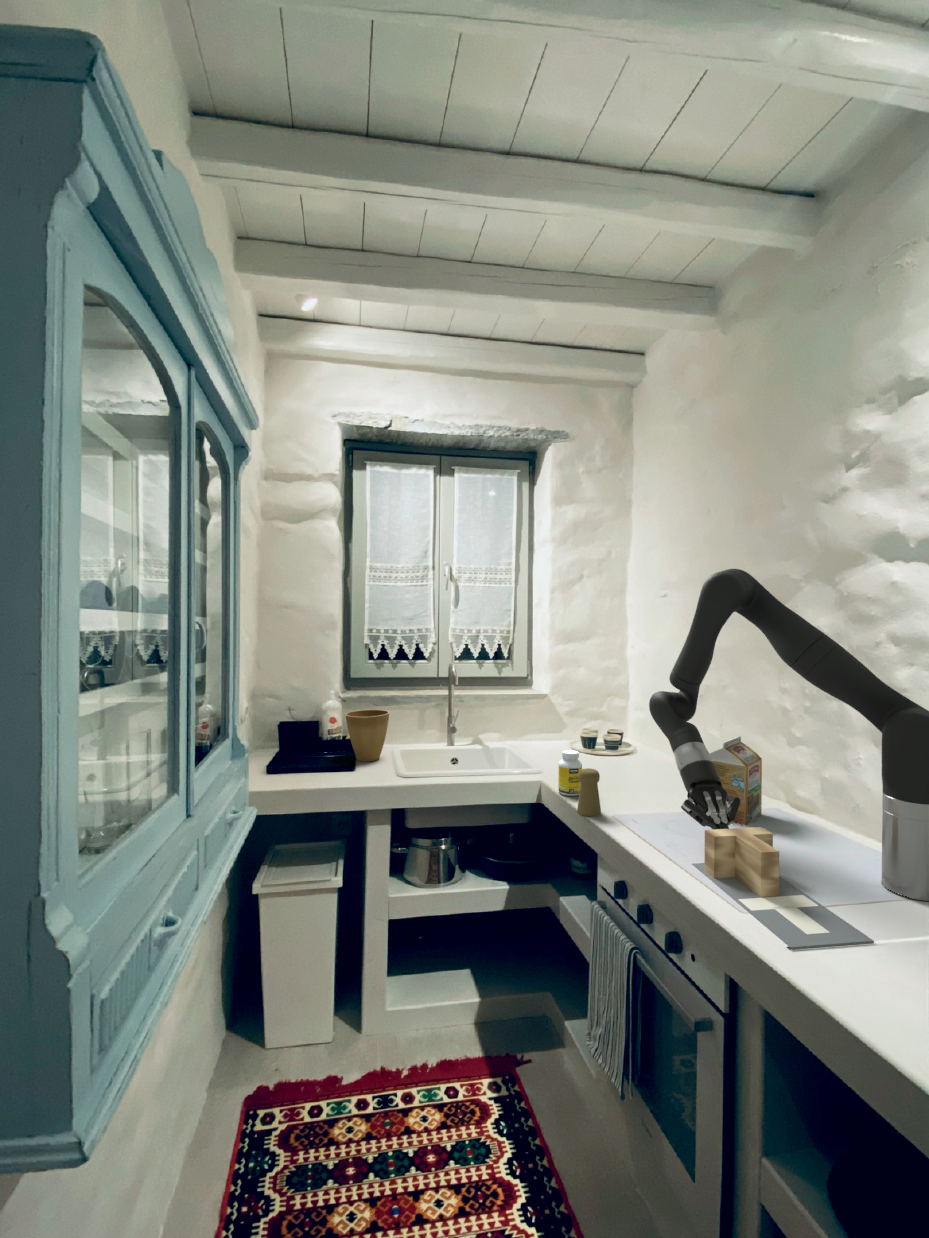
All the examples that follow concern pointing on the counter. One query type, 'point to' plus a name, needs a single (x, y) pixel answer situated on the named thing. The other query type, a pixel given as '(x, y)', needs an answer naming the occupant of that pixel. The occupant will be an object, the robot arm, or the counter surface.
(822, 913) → the slate mat
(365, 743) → the plant pot
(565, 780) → the pill bottle
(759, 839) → the oak T block
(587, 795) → the tan rounded upright piece
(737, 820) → the milk carton
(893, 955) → the counter surface
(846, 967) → the counter surface
